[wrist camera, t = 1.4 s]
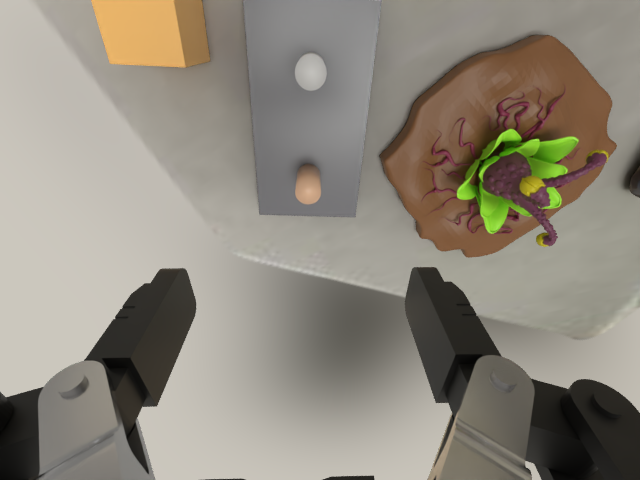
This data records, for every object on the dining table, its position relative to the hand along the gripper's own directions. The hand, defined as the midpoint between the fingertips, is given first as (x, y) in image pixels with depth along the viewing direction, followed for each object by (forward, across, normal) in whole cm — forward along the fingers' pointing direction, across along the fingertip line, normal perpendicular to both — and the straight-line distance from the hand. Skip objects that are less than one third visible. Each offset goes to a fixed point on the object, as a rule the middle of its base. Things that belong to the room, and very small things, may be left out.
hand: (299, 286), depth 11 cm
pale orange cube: (+22, +10, -8) cm, 25 cm away
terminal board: (+22, 0, -1) cm, 22 cm away
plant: (+22, -18, +3) cm, 29 cm away
